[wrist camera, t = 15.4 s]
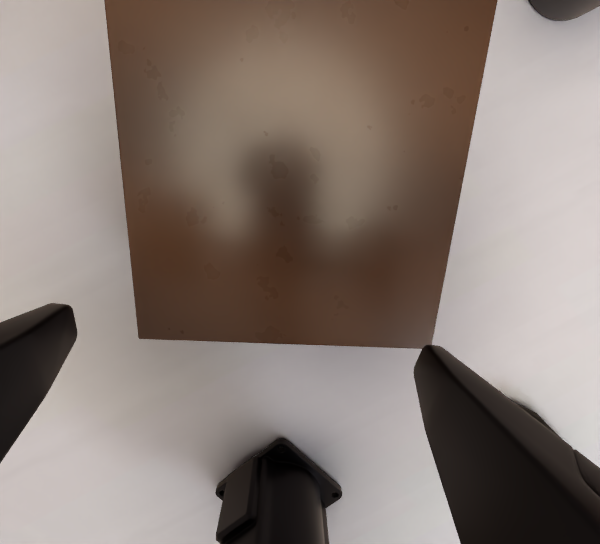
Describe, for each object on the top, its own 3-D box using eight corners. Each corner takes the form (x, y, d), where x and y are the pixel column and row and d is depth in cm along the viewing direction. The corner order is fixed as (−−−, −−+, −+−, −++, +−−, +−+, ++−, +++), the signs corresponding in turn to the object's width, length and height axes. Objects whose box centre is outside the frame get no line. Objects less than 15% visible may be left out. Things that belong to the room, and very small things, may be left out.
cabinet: (169, 8, 15) (94, -88, 9) (429, 27, 16) (508, -53, 10) (183, 288, 19) (137, 339, 13) (390, 296, 20) (431, 349, 14)
